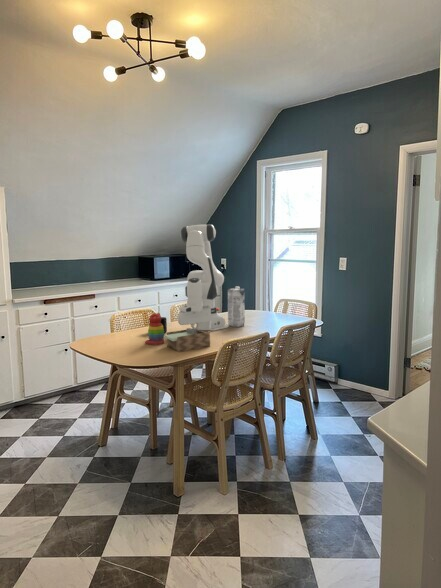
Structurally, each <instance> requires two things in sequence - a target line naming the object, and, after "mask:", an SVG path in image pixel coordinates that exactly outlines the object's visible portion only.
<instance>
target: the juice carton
mask: <svg viewBox="0 0 441 588" xmlns="http://www.w3.org/2000/svg"><path fill="white" fill-rule="evenodd" d="M245 297H246V295H245V288H241V287H240V286H235V287H233V288H227V323H228V324H227V325H229V327H234V328H240V327H242V326H243V327H244V326H245V319H246V315H245V312H246V310H245V307H246V306H245V303H246V302H245V301H246V300H245Z"/></svg>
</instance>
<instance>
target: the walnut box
mask: <svg viewBox="0 0 441 588" xmlns="http://www.w3.org/2000/svg"><path fill="white" fill-rule="evenodd" d="M182 332H187V329H181V330H174V331H169V332H168V331H167V332H166V335H169V334H176V333H182ZM166 345H167V348H169V349H171V350H174V351H175V352H177V353H182V352H186V351H192V350H199V349H203V348H209V347H211V332H210V331H208V332H205V331H204V330H198V331H197V334H193V335H187V336H180V337H177V341H171V340H169V339H167V338H166Z"/></svg>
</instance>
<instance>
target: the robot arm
mask: <svg viewBox="0 0 441 588" xmlns="http://www.w3.org/2000/svg"><path fill="white" fill-rule="evenodd" d="M216 234H217V230H216V228H215V226H214V225H213V224H210V223H209V224H208V223H207V224H194V225H189V226H188V225H185V226H183V227H182V228H181V230H180V239H181V241H182V243H183V242H184V243H185V244H186V245H185V246H186V247H185V252H186V258H187V259H188V260H189V261H190V262H191V263H193V264H195V265H198V266H199V267H201V268H200V269H202V270H199V269H198V270H197V269H196V270H192V271H190V272H189V273H188V275H187V278H186V279H187V284H186V286H184V287H185V290H184V291H185V297H186V298H187V299H186V302H187V303H186V304H184V305H182V306H180V307H179V308H178V310H179V313H178V315H177V316H178V318H177V320H178V321H177V323H178V324H179V326H187V325H188V326H189V325H190V326H191V327H190V328H191V329H194V330H196V331H198V330H200V331H209V332H210V331H211V332H212V331H213V332H214V331H219V330H222V329H223V330H224V329H226V328H229V327H230V326H229V325H228V324H226V320H225V317H224V316H222V315H220V313H218V312H219V311H220V307H215V299H216V297H217V296H218V293H219V292H218V291H219V290H218V288H219V287H222V286H223V284H224V282H225V276H224V274H223V273H222V272H221V271H220V270H218V269H217V267H216V265H215V263H214V261H213V256H212V248H211V242H212V241H214V240H215V238H216ZM195 325H196V326H195Z"/></svg>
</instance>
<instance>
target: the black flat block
mask: <svg viewBox="0 0 441 588" xmlns="http://www.w3.org/2000/svg"><path fill="white" fill-rule="evenodd" d="M150 323H151V322H150V321H149V324H150ZM160 323H161V324H162V325H163V329H164V334H167V332H168V325H167V317H165V316H164V317H162V316H161V322H160Z"/></svg>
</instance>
